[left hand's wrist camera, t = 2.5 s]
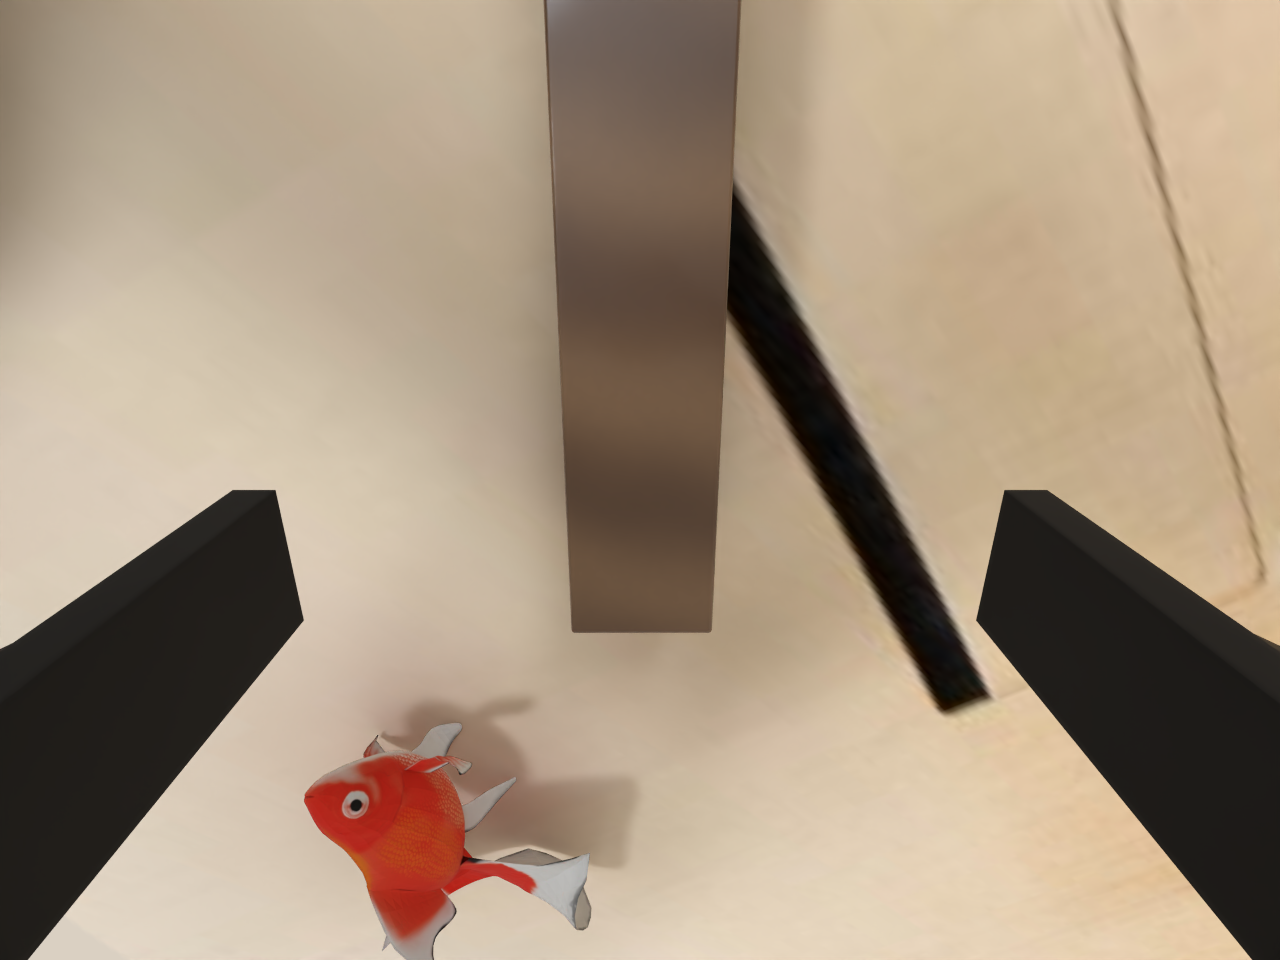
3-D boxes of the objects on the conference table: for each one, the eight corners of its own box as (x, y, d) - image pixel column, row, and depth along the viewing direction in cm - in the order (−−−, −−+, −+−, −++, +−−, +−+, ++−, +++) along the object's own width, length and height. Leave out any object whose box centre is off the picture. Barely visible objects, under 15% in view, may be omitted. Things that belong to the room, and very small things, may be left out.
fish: (506, 672, 27) (423, 987, 21) (659, 783, 38) (633, 1011, 32) (312, 679, 31) (197, 942, 25) (499, 777, 42) (450, 976, 36)
